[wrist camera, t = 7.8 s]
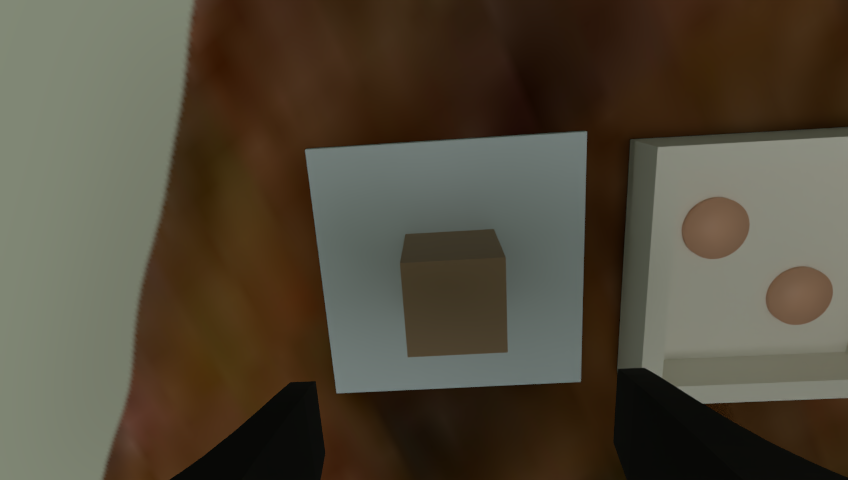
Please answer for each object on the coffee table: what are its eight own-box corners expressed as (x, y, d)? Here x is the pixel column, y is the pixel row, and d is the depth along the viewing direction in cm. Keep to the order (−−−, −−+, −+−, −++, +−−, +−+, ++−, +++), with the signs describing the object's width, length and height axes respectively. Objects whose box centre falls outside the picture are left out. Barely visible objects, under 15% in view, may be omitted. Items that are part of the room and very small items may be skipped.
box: (901, 123, 19) (967, 129, 17) (852, 361, 22) (903, 395, 20) (630, 139, 20) (657, 147, 17) (617, 371, 22) (639, 406, 20)
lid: (579, 129, 20) (619, 141, 16) (574, 369, 23) (607, 434, 19) (310, 146, 21) (278, 162, 16) (340, 380, 24) (319, 446, 19)
